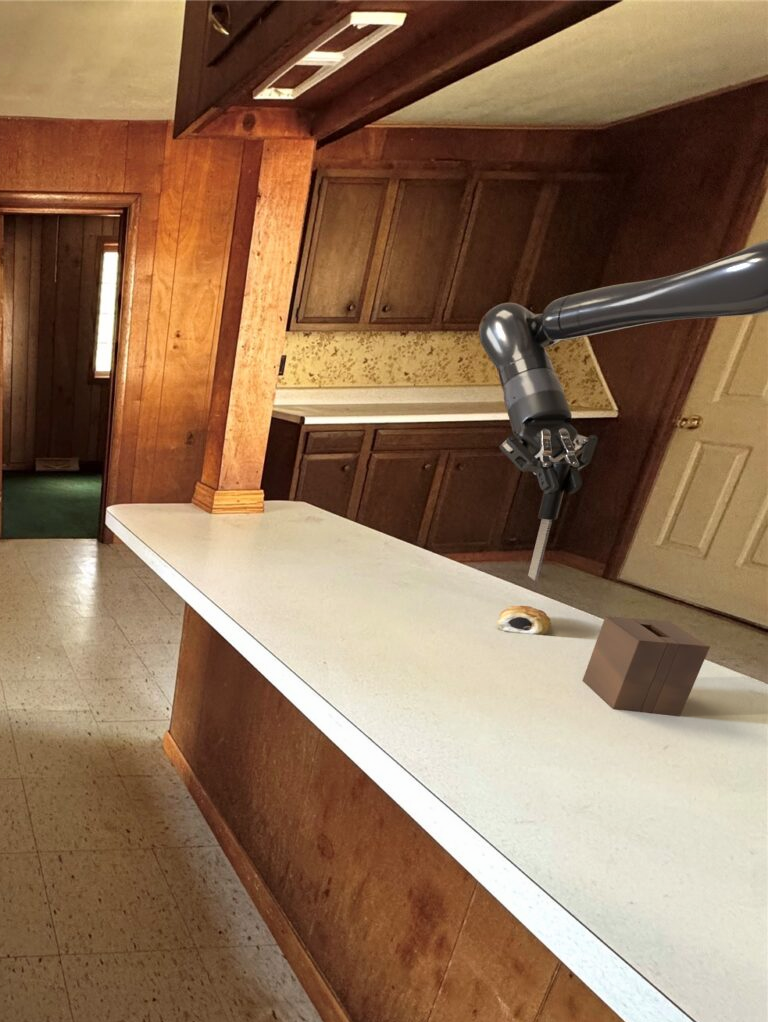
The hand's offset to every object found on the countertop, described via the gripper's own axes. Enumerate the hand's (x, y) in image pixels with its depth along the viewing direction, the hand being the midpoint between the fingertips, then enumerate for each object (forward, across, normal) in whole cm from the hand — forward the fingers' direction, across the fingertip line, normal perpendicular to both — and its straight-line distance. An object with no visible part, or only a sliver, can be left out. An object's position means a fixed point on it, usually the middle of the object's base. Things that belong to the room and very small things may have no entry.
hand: (563, 490), depth 105 cm
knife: (+10, 0, +11) cm, 15 cm away
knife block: (+35, -2, -2) cm, 35 cm away
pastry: (+17, 0, +16) cm, 24 cm away
